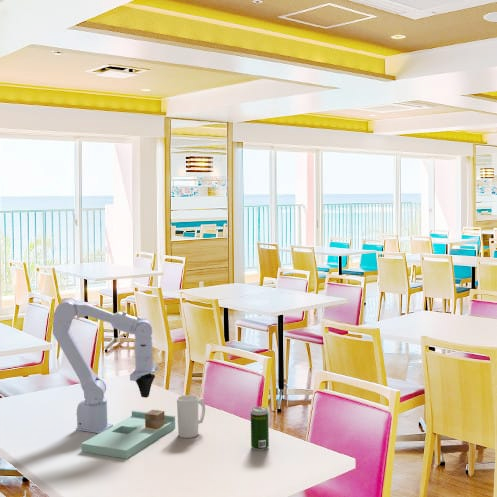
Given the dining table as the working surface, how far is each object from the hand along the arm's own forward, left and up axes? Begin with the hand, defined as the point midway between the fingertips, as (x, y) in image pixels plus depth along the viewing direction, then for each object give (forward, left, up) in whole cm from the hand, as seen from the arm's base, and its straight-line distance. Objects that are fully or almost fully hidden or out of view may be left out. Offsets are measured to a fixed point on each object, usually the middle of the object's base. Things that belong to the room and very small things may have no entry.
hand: (145, 396), depth 236 cm
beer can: (+43, -5, -10) cm, 44 cm away
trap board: (+2, -13, -10) cm, 16 cm away
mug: (+18, -1, -10) cm, 21 cm away
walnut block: (+7, -5, -7) cm, 11 cm away
